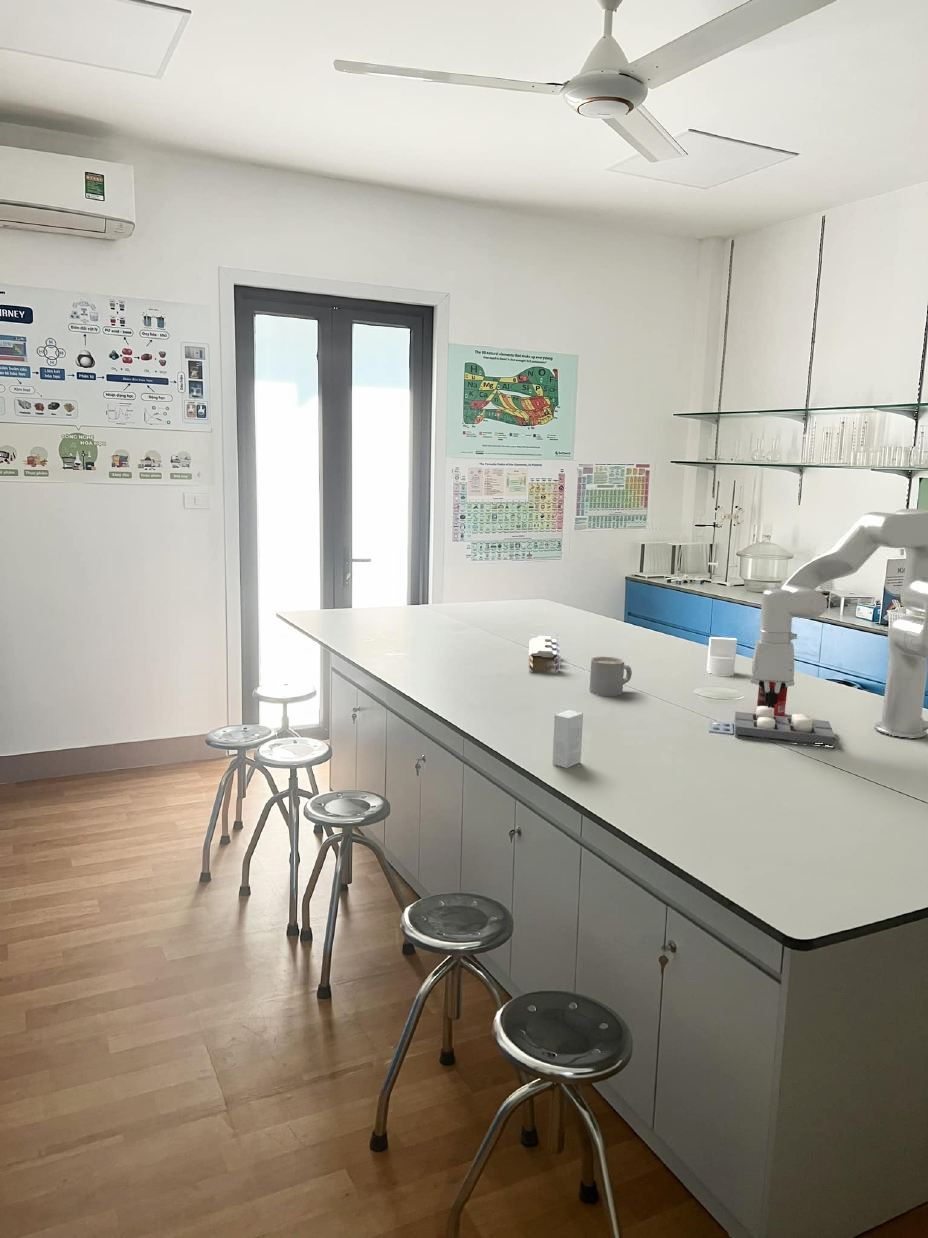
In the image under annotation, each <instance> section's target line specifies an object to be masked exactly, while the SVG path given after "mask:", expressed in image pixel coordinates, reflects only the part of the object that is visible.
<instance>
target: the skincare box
mask: <svg viewBox="0 0 928 1238" xmlns="http://www.w3.org/2000/svg"><path fill="white" fill-rule="evenodd" d="M553 719H554V722H553V741H552V742H553V744H552V745H553V746H552V747H553V748H552V765H553V764H554V766H557V765H558V766H557V767H560V766H561V767H560V768H564V769H569V768H571V767H573V766H575V765H577V764H580V763H581V760H582V745H583V743H582V741H583V724H584V722H583V721H584V713H583V712H580V711H574V710H570V709H567V710H565V711H561V712H559V713H556V714H554V717H553Z"/></svg>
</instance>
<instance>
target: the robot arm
mask: <svg viewBox="0 0 928 1238" xmlns="http://www.w3.org/2000/svg"><path fill="white" fill-rule="evenodd" d="M880 547H883V548H890V549H904V551H905V568H904V573H903V579H902V583H901V584H902V586H901V591H900V602H901V605H902V606H903V607H904V608H906V609H907V610H909V611H912V612H915V613H919V614H923V615H924V618H923V617H919V616H913V615H903V616H899V617H897V618H895V619H894V620H893V621H892V622H891V624H890V625H889V628H888V632H887V643H888V644H887V646H888V665H887V672H886V680H885V688H884V697H883V705H882V706H883V707H882V713H881V714H882V715H881V721H878V722H875V723H874V727H875V728H876V731H877V730H878V731H881V732H883V733H885V734H884V735H886V734H890V735H892V736H891V737H894V736H900V737H923V736H925V735H926V736H927V731H928V720H925V719H924V718H923V708H924V700H925V694H926V693H925V691H926V685H927V677H928V661H927V659H928V510H925V509H918V508H902V509H899V510H896V511H894V512H891V513H890V512H882V511H880V512H879V511H870V512H867V513H864V514H863V515H862V516H860V518H858V520H856V521H855V523H854V524H853V525H852V526H851V527H849V529H847V531H846V532H845V533H844V534H843V535H842V536H841V537H840V538H839V540H838V541H837V542H836V543H834V545H833V546H832V547H831V548H830V549H829V550H828V551H827V552H825V553H823V554H822V555H819V556H817V557H816V558H814V559H813V560H811V561H809V562H807V563H806V564H804V565H803V566H801V567H799V568H798V569H797V570H796V571H795V572H794V573H793V574H792V575H791V576H790V577H789V578H788V579H787V580H786V582H784V584H783V586H781V588H767V589H765V590H763V592H762V594H761V595H762V596H761V609H760V612H761V613H760V625H759V627H760V628H759V639H757V640H756V641H755V645H754V650H753V657H752V667H751V673H752V675H751V678H750V683H751V684H753V685H758V686H759V685H760V686H761V687H762V688H763V689H764V690H765V703H766V704H767V705H768V708H770V707H772V708H774V705H775V704H777V700H778V693H779V691H781V690H782V689H783V688H784V687H793V686H795V679H794V677H795V649H794V648H795V647H794V642H792V641H793V640H797V639H798V634H797V633H793V631H792V622H793V619H794V618H796V619H797V618H799V619H811V620H812V619H817V618H819V617H821V616H822V615H824V613H825V612H826V611H827V609H828V608H827V607H828V601H827V598H826V596H825V595H824V594H823V593H821V592H820V590H819V591H818V590H816V589H817V588H819V587H820V586H822V585H823V584H825V583H827V582H830V581H833V580H836V579H837V580H838V579H840V578H845V577H848V576H851V575H853V574H856V573H857V572H858V571H859V570H860V568H862V566H864V564H865V563H866V562H867V561H868V560H869V559H870V558H871V557H872V556H873V554H874V553H875V552H876V551H877V550H878V549H879V548H880ZM769 681H776V682H775V686H774V688H773V691H772V693H771V689H770V688H769ZM875 728H874V729H875ZM878 731H877V732H878ZM883 733H882V734H883ZM890 735H889V736H890ZM926 736H925V737H926ZM900 737H899V738H900ZM923 738H924V737H923Z"/></svg>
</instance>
